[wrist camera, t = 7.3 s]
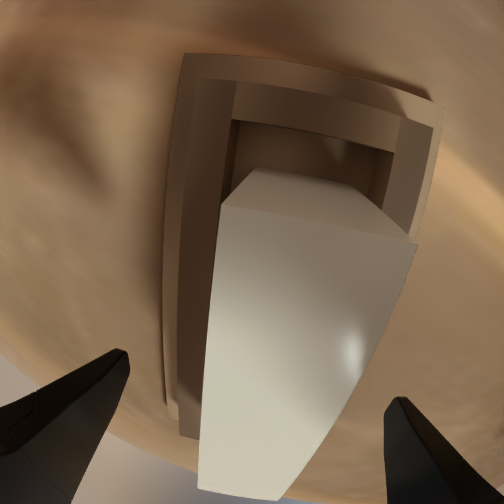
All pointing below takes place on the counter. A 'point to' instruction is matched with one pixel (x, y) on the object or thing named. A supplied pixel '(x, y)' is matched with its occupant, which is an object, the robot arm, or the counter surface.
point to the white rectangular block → (290, 323)
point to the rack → (279, 158)
